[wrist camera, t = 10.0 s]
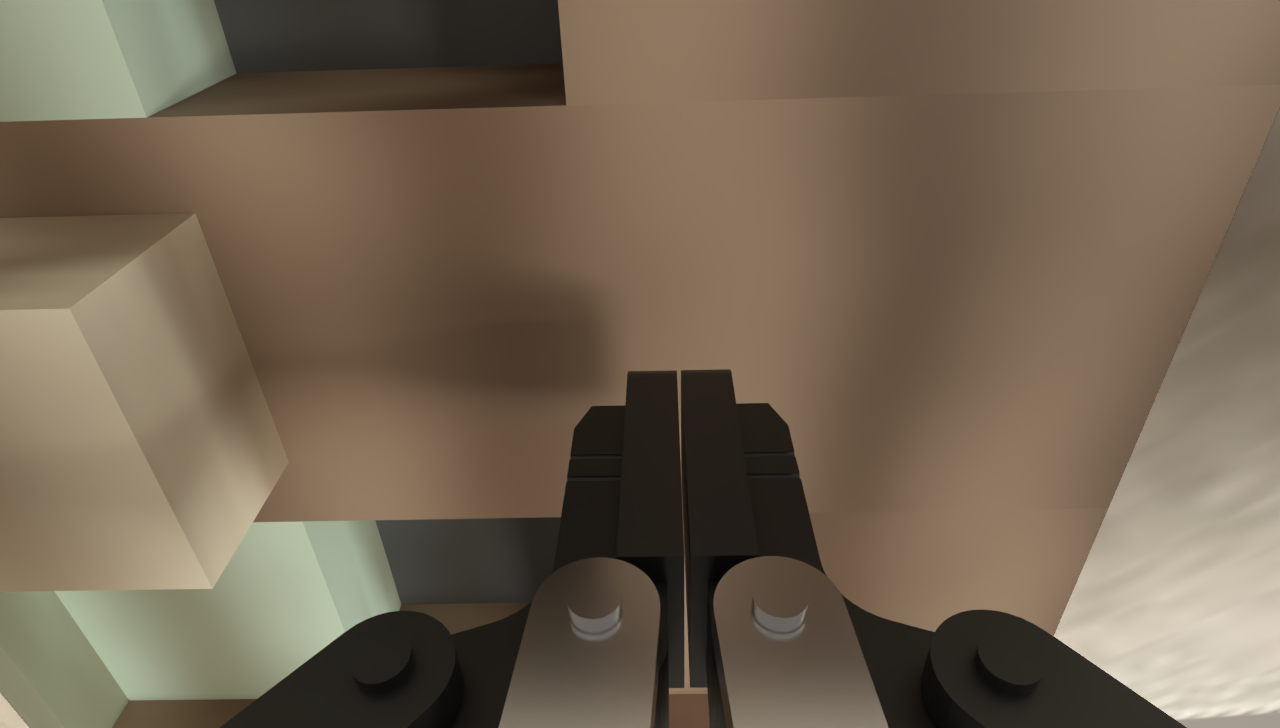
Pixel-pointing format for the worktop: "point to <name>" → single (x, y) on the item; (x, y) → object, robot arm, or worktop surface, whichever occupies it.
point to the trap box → (636, 282)
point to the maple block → (124, 408)
